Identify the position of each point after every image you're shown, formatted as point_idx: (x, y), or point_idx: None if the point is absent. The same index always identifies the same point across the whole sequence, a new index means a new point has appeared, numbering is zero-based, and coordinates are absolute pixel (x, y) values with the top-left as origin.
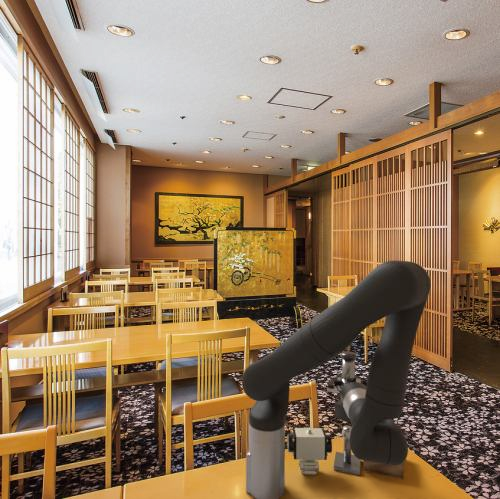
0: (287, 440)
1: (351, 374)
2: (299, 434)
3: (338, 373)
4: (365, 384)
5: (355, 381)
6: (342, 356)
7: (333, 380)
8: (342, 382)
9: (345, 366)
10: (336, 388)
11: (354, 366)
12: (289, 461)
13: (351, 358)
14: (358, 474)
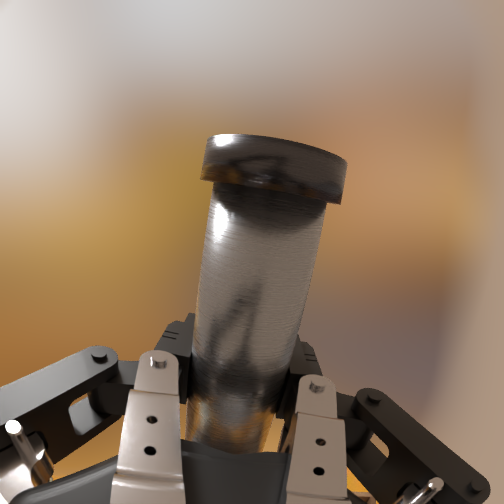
0: None
1: (266, 346)
2: (3, 498)
3: (188, 314)
4: (366, 429)
5: (290, 393)
6: (207, 159)
7: (68, 375)
8: (126, 431)
9: (219, 263)
10: (25, 481)
11: (310, 275)
12: None
13: (296, 174)
14: None
